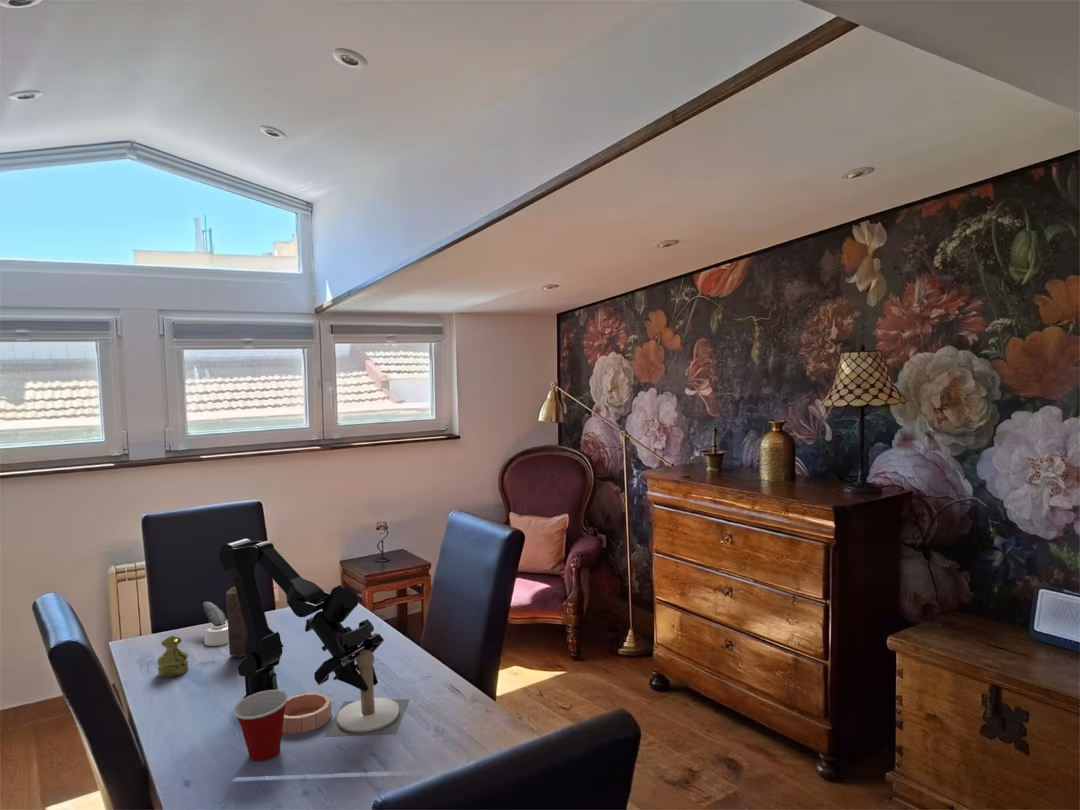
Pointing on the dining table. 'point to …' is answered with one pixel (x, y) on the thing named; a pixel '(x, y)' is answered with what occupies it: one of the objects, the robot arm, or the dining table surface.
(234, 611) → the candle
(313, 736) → the dining table surface
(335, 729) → the mat
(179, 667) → the olive green figurine
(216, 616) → the inkwell
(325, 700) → the bowl
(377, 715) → the peg stand
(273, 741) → the plastic cup
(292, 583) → the robot arm
